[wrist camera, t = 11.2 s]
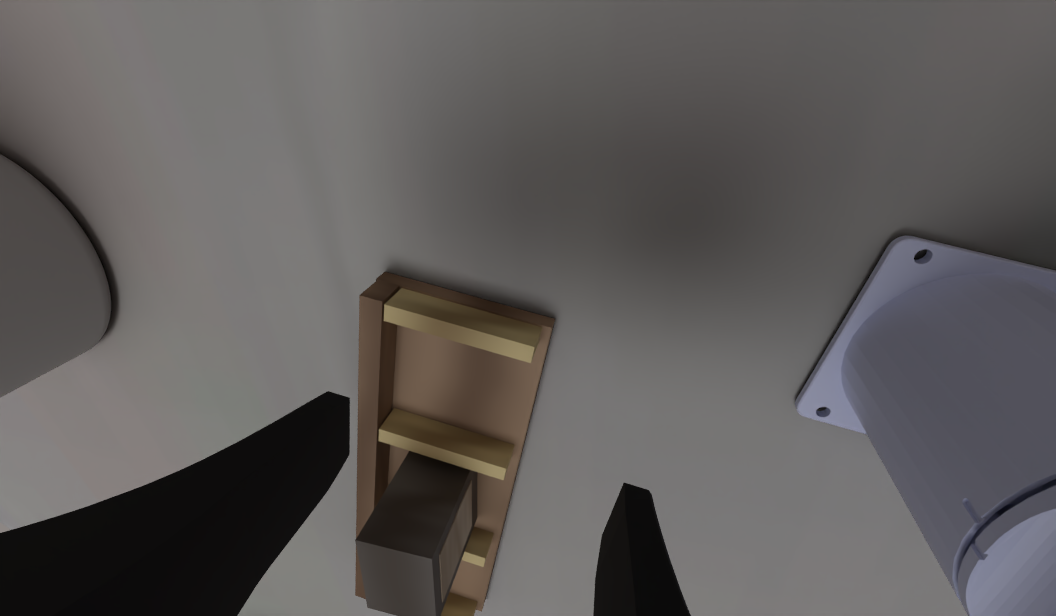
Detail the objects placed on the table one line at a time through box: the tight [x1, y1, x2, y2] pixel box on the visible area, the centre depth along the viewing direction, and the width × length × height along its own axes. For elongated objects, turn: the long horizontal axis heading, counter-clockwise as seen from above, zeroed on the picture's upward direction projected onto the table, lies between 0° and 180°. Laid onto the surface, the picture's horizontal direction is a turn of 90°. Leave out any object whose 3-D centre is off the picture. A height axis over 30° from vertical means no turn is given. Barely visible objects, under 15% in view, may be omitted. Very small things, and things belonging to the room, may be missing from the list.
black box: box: [355, 451, 477, 616], centre depth 24 cm, size 4×5×6 cm
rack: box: [355, 272, 555, 616], centre depth 26 cm, size 8×22×2 cm, turn 169°
